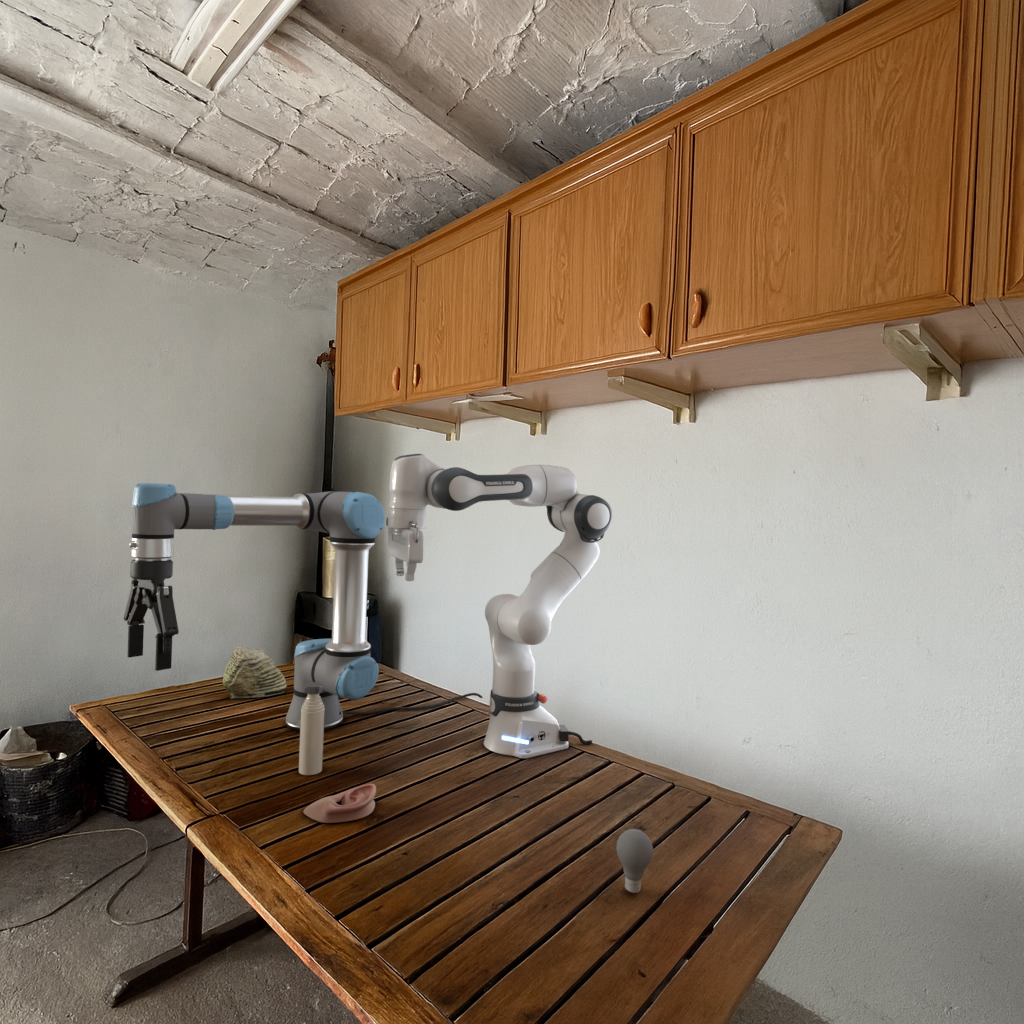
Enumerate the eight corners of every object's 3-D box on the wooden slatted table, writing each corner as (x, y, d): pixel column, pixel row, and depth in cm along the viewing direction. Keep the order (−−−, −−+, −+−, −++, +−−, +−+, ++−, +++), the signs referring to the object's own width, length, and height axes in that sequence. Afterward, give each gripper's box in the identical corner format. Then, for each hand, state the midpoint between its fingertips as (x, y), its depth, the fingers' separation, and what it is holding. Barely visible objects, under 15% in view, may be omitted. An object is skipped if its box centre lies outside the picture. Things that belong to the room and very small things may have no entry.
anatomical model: (295, 798, 124) (324, 774, 135) (295, 818, 124) (324, 792, 135) (358, 808, 121) (383, 782, 132) (358, 828, 121) (382, 801, 133)
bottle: (318, 763, 150) (321, 681, 150) (325, 772, 145) (328, 687, 145) (295, 768, 147) (299, 684, 147) (302, 777, 143) (305, 690, 142)
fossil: (218, 695, 195) (220, 647, 195) (278, 685, 208) (279, 640, 207) (228, 703, 189) (230, 653, 188) (289, 692, 201) (290, 645, 201)
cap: (319, 688, 149) (319, 681, 148) (324, 693, 145) (324, 685, 145) (302, 690, 146) (303, 683, 146) (307, 695, 143) (307, 687, 143)
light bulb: (610, 879, 108) (613, 822, 108) (644, 879, 109) (647, 822, 109) (619, 902, 102) (622, 840, 102) (655, 901, 103) (658, 840, 103)
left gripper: (108, 554, 134) (104, 654, 134) (159, 565, 118) (155, 678, 119) (146, 552, 140) (143, 648, 140) (199, 563, 124) (195, 671, 124)
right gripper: (431, 523, 144) (429, 584, 144) (409, 519, 163) (406, 572, 163) (404, 522, 141) (402, 584, 142) (384, 518, 160) (382, 573, 160)
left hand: (148, 662), depth 129 cm, fingers open, 13 cm apart
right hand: (404, 578), depth 153 cm, fingers open, 8 cm apart
